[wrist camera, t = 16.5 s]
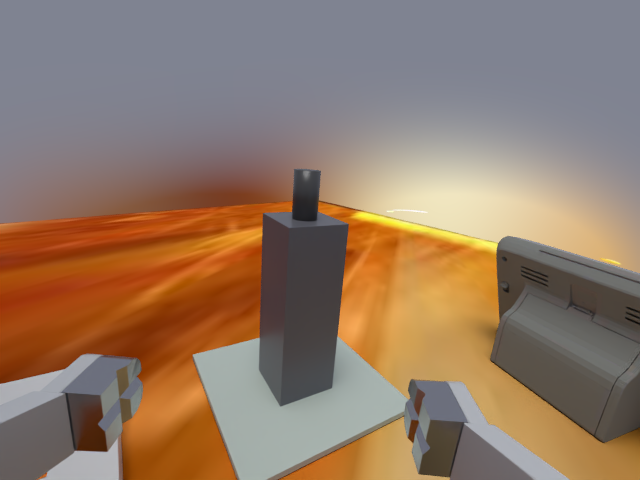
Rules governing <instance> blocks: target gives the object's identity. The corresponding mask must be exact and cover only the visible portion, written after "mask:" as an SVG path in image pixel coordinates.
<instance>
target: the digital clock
mask: <svg viewBox="0 0 640 480" xmlns="http://www.w3.org/2000/svg"><path fill="white" fill-rule="evenodd" d="M497 279H498V299H499V318H500V323H499V326H498V330H497V334H496V338H495V342H494V346H493V350H492V354H491V358H490V359H491V361H492V362H494V363H495V364H497V365H498V366H499V367H501V368H502V369H503V370H505V371H506V372H507V373H509V374H510V375H512V376H513V377H514V378H516V379H517V380H518V381H520V382H521V383H522V384H524V385H525V386H527V387H528V388H529V389H531V390H532V391H533V392H535V393H536V394H537V395H539V396H540V397H542V398H543V399H544V400H546V401H547V402H548V403H550V404H551V405H552V406H554V407H555V408H557V409H558V410H559V411H561V412H562V413H563V414H565V415H566V416H568V417H569V418H570V419H572V420H573V421H574V422H576V423H577V424H578V425H580V426H581V427H583V428H584V429H585V430H587V431H588V432H589V433H591V434H592V435H593V436H595V437H596V438H598V439H599V440H600V441H602V442H607V441H610V440H612V439H614V438H617V437H619V436H621V435H624V434H626V433H628V432H630V431H633V430H635V429H637V428H640V273H637V272H633V271H630V270H627V269H623V268H620V267H617V266H614V265H610V264H607V263H604V262H600V261H597V260H593V259H590V258H587V257H583V256H580V255H577V254H573V253H570V252H567V251H564V250H560V249H557V248H554V247H550V246H547V245H544V244H540V243H537V242H533V241H529V240H526V239H521V238H517V237H511V236H507V237H505V238H503V239H501V241H500V242H499V243H498V247H497Z"/></svg>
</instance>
